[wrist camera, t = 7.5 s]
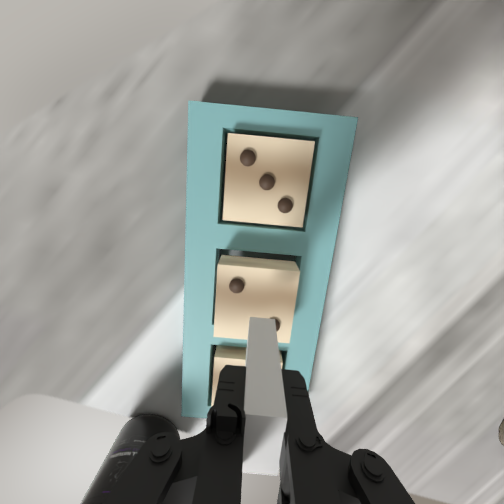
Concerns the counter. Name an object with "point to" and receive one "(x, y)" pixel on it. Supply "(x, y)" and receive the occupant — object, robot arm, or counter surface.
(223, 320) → the key two
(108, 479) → the supplement bottle
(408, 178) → the counter surface
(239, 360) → the key one
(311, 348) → the teal puzzle board
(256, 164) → the key three
